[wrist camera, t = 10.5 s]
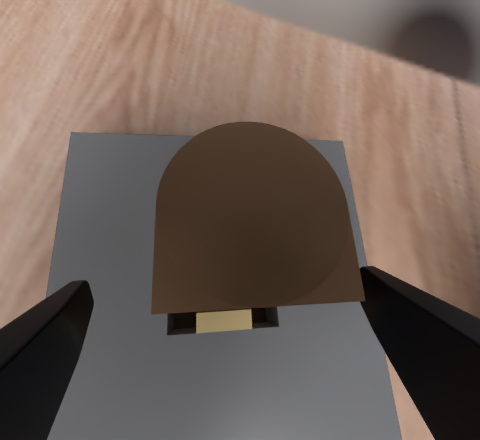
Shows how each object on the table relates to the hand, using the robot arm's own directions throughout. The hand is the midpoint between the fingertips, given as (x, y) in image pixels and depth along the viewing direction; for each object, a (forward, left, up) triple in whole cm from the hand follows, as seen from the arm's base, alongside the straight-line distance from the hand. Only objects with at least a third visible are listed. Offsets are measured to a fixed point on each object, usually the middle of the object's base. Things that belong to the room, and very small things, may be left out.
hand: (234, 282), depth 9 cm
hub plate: (+1, 0, -9) cm, 9 cm away
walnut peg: (+1, 0, -9) cm, 9 cm away
